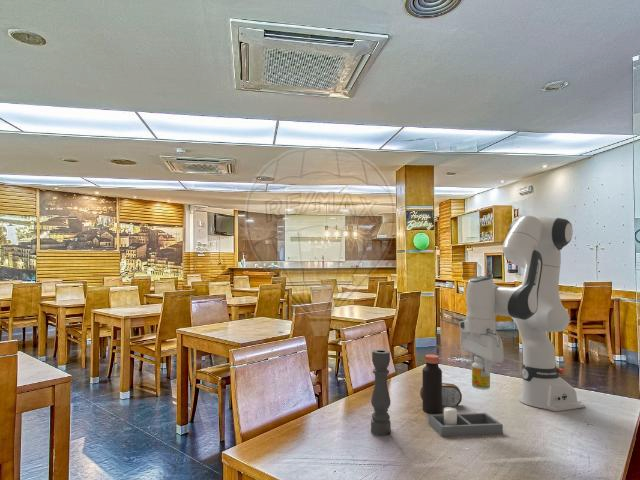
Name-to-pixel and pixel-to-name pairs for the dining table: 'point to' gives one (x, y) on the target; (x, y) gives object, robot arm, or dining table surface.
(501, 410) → the dining table surface
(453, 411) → the shaker
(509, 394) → the dining table surface
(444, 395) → the tin
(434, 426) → the caddy
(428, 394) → the vinegar
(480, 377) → the supplement bottle
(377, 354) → the candle holder
